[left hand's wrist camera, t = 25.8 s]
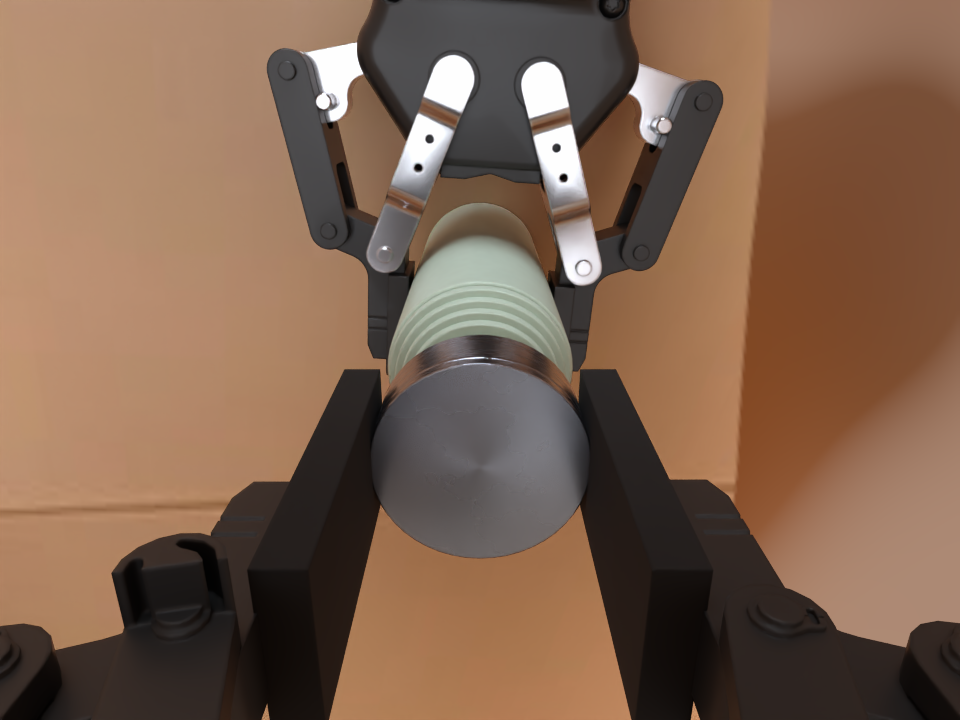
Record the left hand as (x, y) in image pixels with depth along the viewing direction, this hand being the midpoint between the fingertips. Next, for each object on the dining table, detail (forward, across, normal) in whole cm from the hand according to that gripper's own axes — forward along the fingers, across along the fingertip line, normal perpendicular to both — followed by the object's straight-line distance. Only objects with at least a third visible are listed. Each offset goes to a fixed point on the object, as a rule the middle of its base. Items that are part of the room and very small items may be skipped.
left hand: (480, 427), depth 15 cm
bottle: (+16, 0, 0) cm, 16 cm away
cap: (-1, 0, 0) cm, 1 cm away
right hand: (+10, 0, -3) cm, 10 cm away
